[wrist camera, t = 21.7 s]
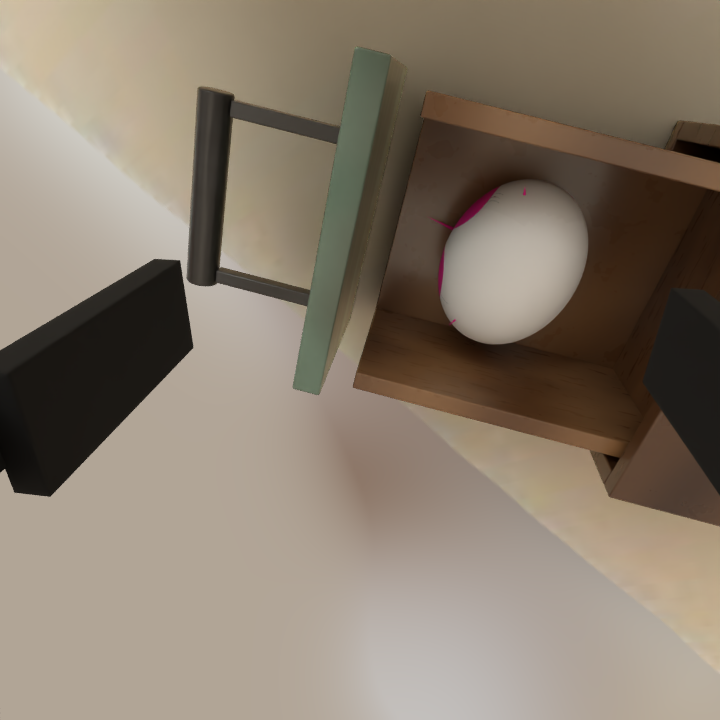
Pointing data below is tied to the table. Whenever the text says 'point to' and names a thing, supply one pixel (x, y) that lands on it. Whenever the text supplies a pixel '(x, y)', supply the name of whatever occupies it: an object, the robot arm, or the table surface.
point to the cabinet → (655, 433)
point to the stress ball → (512, 261)
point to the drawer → (428, 238)
